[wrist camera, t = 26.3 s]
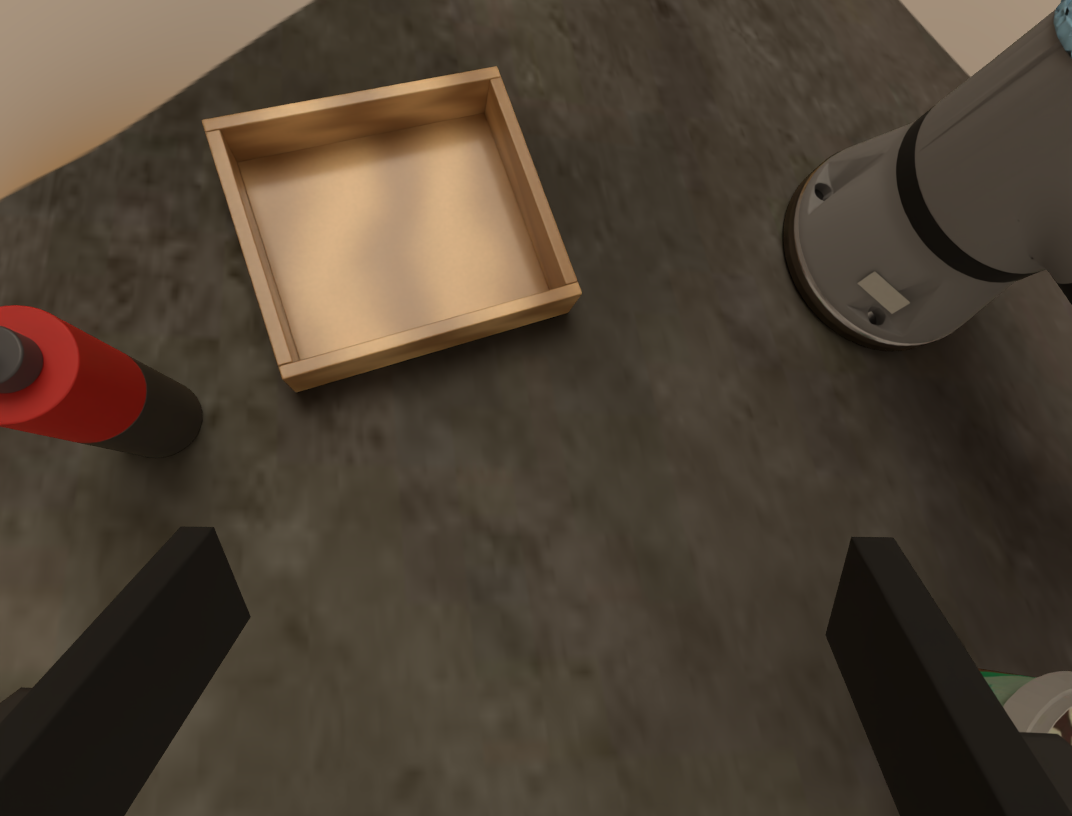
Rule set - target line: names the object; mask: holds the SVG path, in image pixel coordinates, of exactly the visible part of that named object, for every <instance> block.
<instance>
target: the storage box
mask: <svg viewBox="0 0 1072 816" xmlns="http://www.w3.org/2000/svg"><path fill="white" fill-rule="evenodd" d="M202 124H203V127H204V130H205V133H206V137H207V140H208V143H209V147H210V150H211V153H212V156H213V160H214V163H215V166H216V169H217V172H218V176H219V179H220V182H221V185H222V188H223V192H224V195H225V198H226V201H227V204H228V208H229V211H230V214H231V217H232V220H233V224H234V227H235V230H236V233H237V236H238V240H239V243H240V246H241V249H242V253H243V256H244V259H245V262H246V265H247V269H248V272H249V275H250V278H251V281H252V285H253V288H254V291H255V294H256V297H257V301H258V304H259V307H260V310H261V313H262V317H263V320H264V323H265V326H266V330H267V333H268V336H269V339H270V342H271V346H272V349H273V352H274V355H275V358H276V362H277V365H278V366H279V371H280V374H281V377H282V379H283V380H284V381H285V382H286V383H287V384H288V385H289V386H290V387H291V388H292V389H293V390H294V391H295V392H300V391H303V390H307V389H310V388H313V387H317V386H320V385H324V384H327V383H330V382H334V381H337V380H341V379H344V378H347V377H351V376H354V375H358V374H361V373H364V372H368V371H371V370H375V369H378V368H382V367H385V366H388V365H392V364H395V363H399V362H402V361H405V360H409V359H412V358H416V357H419V356H422V355H426V354H429V353H433V352H436V351H439V350H443V349H446V348H450V347H453V346H456V345H460V344H463V343H467V342H470V341H473V340H477V339H480V338H484V337H487V336H491V335H494V334H497V333H501V332H504V331H508V330H511V329H514V328H518V327H521V326H525V325H528V324H531V323H535V322H538V321H542V320H545V319H548V318H552V317H555V316H559V315H562V314H565V313H568V312H569V311H570V310H571V308H572V307H573V305H574V304H575V303H576V301H577V300H578V298H579V297H580V296H581V294H582V292H581V289H580V286H579V284H578V282H577V278H576V276H575V273H574V270H573V268H572V265H571V262H570V260H569V257H568V254H567V252H566V249H565V246H564V244H563V241H562V238H561V236H560V233H559V230H558V228H557V225H556V222H555V220H554V217H553V214H552V212H551V209H550V206H549V204H548V201H547V198H546V196H545V193H544V190H543V188H542V185H541V182H540V180H539V177H538V174H537V172H536V169H535V166H534V164H533V161H532V158H531V156H530V153H529V150H528V148H527V145H526V142H525V140H524V137H523V134H522V132H521V129H520V126H519V124H518V121H517V118H516V116H515V113H514V110H513V108H512V105H511V102H510V100H509V97H508V94H507V92H506V89H505V86H504V84H503V81H502V78H501V76H500V73H499V70H498V68H497V66H495V67H490V68H484V69H479V70H473V71H468V72H462V73H457V74H451V75H446V76H440V77H435V78H429V79H424V80H418V81H413V82H407V83H402V84H396V85H391V86H385V87H380V88H374V89H369V90H363V91H358V92H352V93H347V94H341V95H336V96H330V97H325V98H319V99H314V100H308V101H303V102H297V103H292V104H287V105H281V106H276V107H270V108H265V109H259V110H254V111H248V112H243V113H237V114H232V115H226V116H221V117H215V118H210V119H204V120H202Z"/></svg>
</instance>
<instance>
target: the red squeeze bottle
mask: <svg viewBox="0 0 1072 816" xmlns="http://www.w3.org/2000/svg"><path fill="white" fill-rule="evenodd" d="M201 423H202V409H201V405H200V403H199V401H198V399H197V397H196V396H195V395H194V393H193V392H192V391H191V390H190V389H188V388H187V387H185V386H184V385H182V384H180V383H178V382H176V381H174V380H173V379H171V378H169V377H167V376H165V375H163V374H161V373H160V372H158V371H156V370H154V369H152V368H150V367H148V366H147V365H145V364H143V363H141V362H139V361H137V360H135V359H134V358H132V357H130V356H128V355H126V354H124V353H122V352H121V351H119V350H117V349H115V348H113V347H111V346H110V345H108V344H106V343H104V342H102V341H100V340H98V339H97V338H95V337H93V336H91V335H89V334H87V333H85V332H84V331H82V330H80V329H78V328H76V327H74V326H72V325H71V324H69V323H67V322H65V321H63V320H61V319H59V318H58V317H56V316H54V315H52V314H50V313H48V312H46V311H43V310H41V309H37V308H34V307H28V306H16V305H13V306H2V307H0V426H1V427H6V428H10V429H15V430H20V431H25V432H30V433H34V434H39V435H44V436H49V437H54V438H58V439H63V440H68V441H73V442H77V443H82V444H87V445H92V446H97V447H101V448H106V449H111V450H116V451H121V452H125V453H130V454H135V455H140V456H145V457H151V458H160V457H166V456H170V455H173V454H176V453H178V452H180V451H181V450H183V449H184V448H186V447H187V446H188V445H189V444H190V443H191V442H192V441H193V440H194V439H195V437H196V436H197V434H198V432H199V430H200V427H201Z"/></svg>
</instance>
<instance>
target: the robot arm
mask: <svg viewBox="0 0 1072 816" xmlns="http://www.w3.org/2000/svg"><path fill="white" fill-rule="evenodd" d="M783 240H784V250H785V256H786V261H787V264H788V268H789V271H790V273H791V276H792V279H793V281H794V283H795V285H796V287H797V289H798V291H799V292H800V294H801V296H802V297H803V299H804V300H805V302H806V303H807V305H808V306H809V307H810V308H811V310H812V311H813V312H814V313H815V314H816V315H817V316H818V317H819V318H820V320H821V321H823V322H824V323H825V324H826V325H827V326H828V327H829V328H831V329H832V330H834V331H835V332H836V333H838V334H839V335H841V336H843V337H844V338H846V339H848V340H850V341H852V342H854V343H856V344H859V345H861V346H864V347H868V348H871V349H876V350H882V351H902V350H908V349H912V348H916V347H919V346H922V345H925V344H928V343H931V342H934V341H937V340H939V339H941V338H944V337H946V336H947V335H949V334H951V333H953V332H954V331H955V330H956V329H958V328H959V327H960V326H962V325H963V324H964V323H965V322H967V321H968V320H969V319H970V318H971V317H973V316H974V315H975V314H976V313H978V312H979V311H980V310H981V309H982V308H984V307H985V306H986V305H987V304H988V303H990V302H991V301H992V300H993V299H995V298H996V297H997V296H998V295H999V294H1001V293H1002V292H1003V291H1004V290H1006V289H1007V288H1008V287H1009V286H1010V285H1012V284H1013V283H1014V282H1016V281H1018V280H1020V279H1023V278H1025V277H1028V276H1030V275H1033V274H1035V273H1038V272H1040V271H1043V270H1047V271H1048V272H1049V273H1050V274H1051V276H1052V277H1053V279H1054V280H1055V281H1056V283H1057V284H1058V285H1059V287H1060V288H1061V290H1062V291H1063V293H1064V294H1065V295H1066V297H1067V298H1068V300H1069V302H1070V303H1071V304H1072V0H1061V3H1060V4H1059V6H1058V7H1057V8H1056V10H1054V11H1053V12H1052V13H1051V14H1049V15H1048V16H1047V17H1046V18H1044V19H1043V20H1042V21H1041V22H1039V23H1038V24H1037V25H1036V26H1034V27H1033V28H1032V29H1031V30H1029V31H1028V32H1027V33H1026V34H1024V35H1023V36H1022V37H1021V38H1019V39H1018V40H1017V41H1016V42H1014V43H1013V44H1012V45H1011V46H1009V47H1008V48H1007V49H1006V50H1004V51H1003V52H1002V53H1001V54H1000V55H998V56H997V57H996V58H995V59H993V60H992V61H991V62H990V63H988V64H987V65H986V66H985V67H983V68H982V69H981V70H979V71H978V72H977V73H975V74H974V75H973V76H972V77H970V78H969V79H968V80H966V81H965V82H964V83H963V84H961V85H960V86H959V87H958V88H956V89H955V90H954V91H952V92H951V93H950V94H949V95H947V96H946V97H945V98H943V99H942V100H941V101H940V102H938V103H937V104H936V105H935V106H934V107H933V108H931V109H930V110H929V111H927V112H926V113H925V114H924V115H922V116H921V117H920V118H919V119H918V120H916V121H915V122H913V123H911V124H908V125H906V126H903V127H901V128H898V129H895V130H893V131H890V132H888V133H885V134H883V135H880V136H877V137H875V138H872V139H870V140H867V141H864V142H862V143H859V144H857V145H854V146H852V147H849V148H847V149H844V150H842V151H840V152H837V153H836V154H834V155H832V156H831V157H829V158H828V159H827V160H825V161H824V162H823V163H822V164H820V165H819V166H818V167H817V168H816V169H815V170H814V171H813V172H811V173H810V174H809V175H808V176H807V177H806V178H805V179H804V180H803V181H802V182H801V184H800V185H799V186H798V187H797V189H796V191H795V192H794V194H793V196H792V198H791V200H790V202H789V205H788V208H787V211H786V215H785V220H784V229H783ZM249 619H250V614H249V612H248V609H247V607H246V604H245V602H244V600H243V597H242V595H241V592H240V590H239V587H238V585H237V583H236V580H235V578H234V575H233V573H232V570H231V568H230V566H229V563H228V561H227V558H226V556H225V553H224V551H223V549H222V546H221V544H220V541H219V539H218V536H217V534H216V531H215V529H214V527H180V528H179V529H178V530H177V531H176V532H175V533H174V534H173V535H172V537H171V538H170V539H169V540H168V541H167V542H166V543H165V544H164V545H163V546H162V547H161V549H160V550H159V551H158V552H157V553H156V554H155V555H154V556H153V557H152V558H151V559H150V561H149V562H148V563H147V564H146V565H145V566H144V567H143V568H142V569H141V570H140V571H139V573H138V574H137V575H136V576H135V577H134V578H133V579H132V580H131V581H130V582H129V583H128V584H127V586H126V587H125V588H124V589H123V590H122V591H121V592H120V593H119V594H118V595H117V596H116V598H115V599H114V600H113V601H112V602H111V603H110V604H109V605H108V606H107V607H106V608H105V610H104V611H103V612H102V613H101V614H100V615H99V616H98V617H97V618H96V619H95V620H94V622H93V623H92V624H91V625H90V626H89V627H88V628H87V629H86V630H85V631H84V632H83V634H82V635H81V636H80V637H79V638H78V639H77V640H76V641H75V642H74V643H73V644H72V646H71V647H70V648H69V649H68V650H67V651H66V652H65V653H64V654H63V655H62V656H61V657H60V659H59V660H58V661H57V662H56V663H55V664H54V665H53V666H52V667H51V668H50V669H49V671H48V672H47V673H46V674H45V675H44V676H43V677H42V678H41V679H40V680H39V681H38V683H37V684H36V685H35V686H34V687H33V688H20V689H19V690H17V691H16V692H15V693H13V694H12V695H10V696H9V697H8V698H6V699H5V700H4V701H2V702H1V703H0V816H124V815H125V814H126V812H127V810H128V809H129V807H130V806H131V804H132V803H133V801H134V799H135V798H136V796H137V795H138V793H139V792H140V790H141V788H142V787H143V785H144V784H145V782H146V781H147V779H148V777H149V776H150V774H151V773H152V771H153V770H154V768H155V766H156V765H157V763H158V762H159V760H160V759H161V757H162V755H163V754H164V752H165V751H166V749H167V748H168V746H169V744H170V743H171V741H172V740H173V738H174V737H175V735H176V733H177V732H178V730H179V729H180V727H181V726H182V724H183V722H184V721H185V719H186V718H187V716H188V714H189V713H190V711H191V710H192V708H193V707H194V705H195V703H196V702H197V700H198V699H199V697H200V696H201V694H202V692H203V691H204V689H205V688H206V686H207V685H208V683H209V681H210V680H211V678H212V677H213V675H214V674H215V672H216V670H217V669H218V667H219V666H220V664H221V663H222V661H223V659H224V658H225V656H226V655H227V653H228V652H229V650H230V648H231V647H232V645H233V644H234V642H235V641H236V639H237V637H238V636H239V634H240V633H241V631H242V630H243V628H244V626H245V625H246V623H247V622H248V620H249ZM826 637H827V640H828V642H829V645H830V647H831V649H832V652H833V654H834V657H835V659H836V662H837V664H838V666H839V669H840V671H841V674H842V676H843V678H844V681H845V683H846V686H847V688H848V691H849V693H850V695H851V698H852V700H853V703H854V705H855V708H856V710H857V712H858V715H859V717H860V720H861V722H862V724H863V727H864V729H865V732H866V734H867V737H868V739H869V741H870V744H871V746H872V749H873V751H874V754H875V756H876V758H877V761H878V763H879V766H880V768H881V770H882V773H883V775H884V778H885V780H886V783H887V785H888V787H889V790H890V792H891V795H892V797H893V800H894V802H895V804H896V807H897V809H898V812H899V814H900V816H1072V746H1071V745H1070V744H1069V743H1068V742H1067V741H1066V740H1065V739H1064V738H1062V737H1061V736H1060V735H1059V734H1052V733H1031V732H1019V731H1018V729H1017V728H1016V726H1015V725H1014V723H1013V722H1012V720H1011V719H1010V717H1009V716H1008V714H1007V712H1006V711H1005V709H1004V708H1003V706H1002V705H1001V703H1000V702H999V700H998V699H997V697H996V695H995V694H994V692H993V691H992V689H991V688H990V686H989V685H988V683H987V682H986V680H985V678H984V677H983V675H982V674H981V672H980V671H979V669H978V668H977V666H976V665H975V663H974V661H973V660H972V658H971V657H970V655H969V654H968V652H967V651H966V649H965V648H964V646H963V644H962V643H961V641H960V640H959V638H958V637H957V635H956V634H955V632H954V631H953V629H952V627H951V626H950V624H949V623H948V621H947V620H946V618H945V617H944V615H943V614H942V612H941V610H940V609H939V607H938V606H937V604H936V603H935V601H934V600H933V598H932V597H931V595H930V593H929V592H928V590H927V589H926V587H925V586H924V584H923V583H922V581H921V580H920V578H919V576H918V575H917V573H916V572H915V570H914V569H913V567H912V566H911V564H910V563H909V561H908V559H907V558H906V556H905V555H904V553H903V552H902V550H901V549H900V547H899V546H898V544H897V542H896V541H895V539H894V538H889V537H851V541H850V545H849V548H848V552H847V556H846V560H845V563H844V567H843V571H842V575H841V578H840V582H839V586H838V590H837V594H836V597H835V601H834V605H833V609H832V612H831V616H830V620H829V624H828V627H827V631H826Z"/></svg>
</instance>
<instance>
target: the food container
mask: <svg viewBox="0 0 1072 816" xmlns="http://www.w3.org/2000/svg"><path fill="white" fill-rule="evenodd" d="M978 669H979V668H978ZM979 671H980V672H981V674H982V675H983V677H984V678H985V680H986V682H987V683H988V685H989V686H990V688H991V689H992V691H993V692H994V694H995V695H996V697H997V699H998V700H999V702H1000V703H1001V705H1002V706H1003V708H1004V709H1005V711H1006V712H1007V714H1008V716H1009V717H1010V719H1011V720H1012V722H1013V723H1014V725H1015V726H1016V728H1017V729H1018V731H1019V732H1031V733H1052V734H1059V735H1060V736H1061V737H1062V738H1064V739H1065V740H1066V741H1067V742H1068V743H1069V744H1070V745H1071V746H1072V671H1059V672H1054V673H1048V674H1045V675H1042V676H1040V677H1037V678H1035V677H1028V676H1022V675H1016V674H1010V673H1003V672H997V671H991V670H985V669H979Z"/></svg>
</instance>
